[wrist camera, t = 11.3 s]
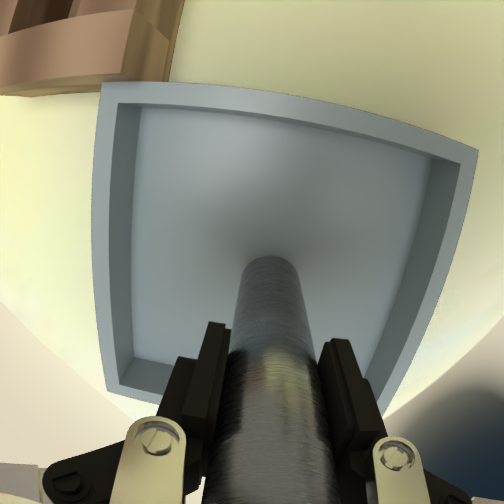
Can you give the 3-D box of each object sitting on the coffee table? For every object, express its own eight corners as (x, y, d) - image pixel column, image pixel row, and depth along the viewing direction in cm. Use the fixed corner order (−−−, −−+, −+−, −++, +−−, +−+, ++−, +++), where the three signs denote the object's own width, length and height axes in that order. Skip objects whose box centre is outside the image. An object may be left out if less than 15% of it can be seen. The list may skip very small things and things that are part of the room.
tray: (442, 145, 16) (478, 150, 12) (364, 390, 22) (376, 426, 18) (133, 91, 15) (102, 82, 12) (125, 357, 22) (107, 391, 18)
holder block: (198, -51, 12) (175, -106, 6) (166, 92, 16) (120, 73, 10) (63, -30, 12) (15, -59, 6) (31, 97, 15) (-33, 94, 10)
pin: (324, 247, 16) (455, 594, 1) (304, 327, 17) (342, 624, 3) (230, 233, 16) (108, 608, 1) (220, 314, 17) (150, 616, 3)
